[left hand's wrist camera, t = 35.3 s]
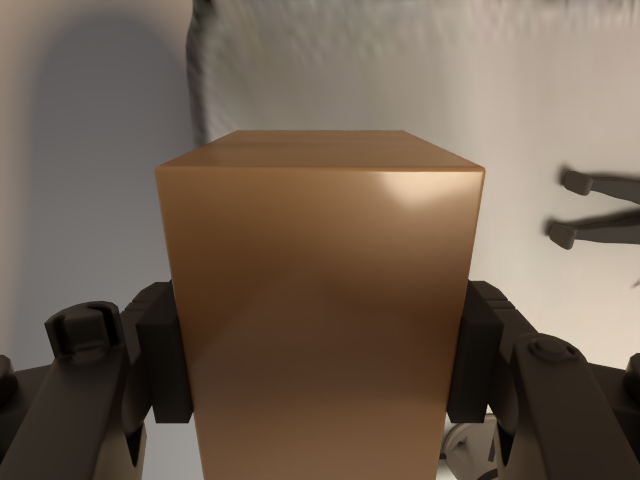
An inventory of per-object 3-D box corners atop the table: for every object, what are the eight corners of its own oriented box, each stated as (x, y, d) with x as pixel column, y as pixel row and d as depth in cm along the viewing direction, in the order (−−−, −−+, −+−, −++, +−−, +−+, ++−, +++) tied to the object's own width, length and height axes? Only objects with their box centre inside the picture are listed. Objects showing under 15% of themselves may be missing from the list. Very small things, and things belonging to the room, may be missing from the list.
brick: (388, 332, 17) (434, 493, 10) (251, 332, 17) (204, 493, 10) (405, 130, 14) (488, 167, 7) (234, 130, 14) (150, 166, 7)
